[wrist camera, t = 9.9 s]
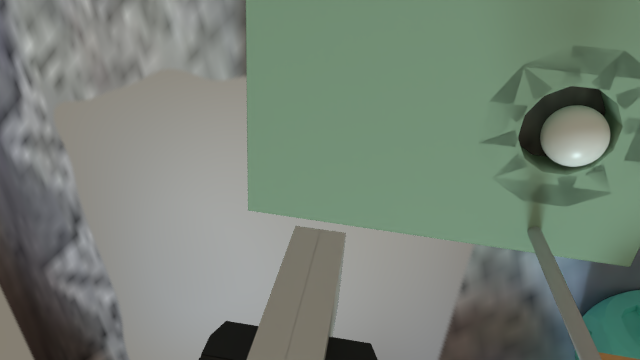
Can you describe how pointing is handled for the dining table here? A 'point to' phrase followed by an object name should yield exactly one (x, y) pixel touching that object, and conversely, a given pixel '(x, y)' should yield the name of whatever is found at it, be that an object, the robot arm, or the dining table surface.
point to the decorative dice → (616, 325)
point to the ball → (575, 135)
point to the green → (447, 124)
